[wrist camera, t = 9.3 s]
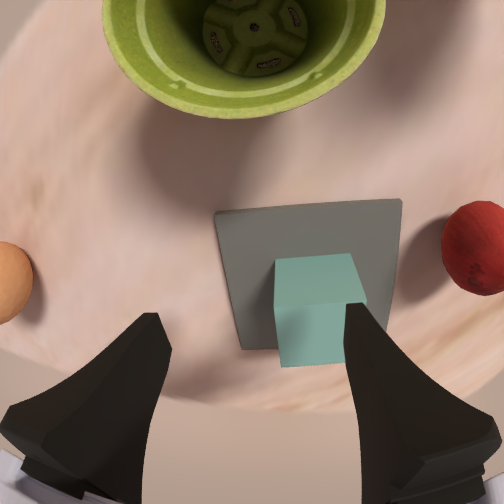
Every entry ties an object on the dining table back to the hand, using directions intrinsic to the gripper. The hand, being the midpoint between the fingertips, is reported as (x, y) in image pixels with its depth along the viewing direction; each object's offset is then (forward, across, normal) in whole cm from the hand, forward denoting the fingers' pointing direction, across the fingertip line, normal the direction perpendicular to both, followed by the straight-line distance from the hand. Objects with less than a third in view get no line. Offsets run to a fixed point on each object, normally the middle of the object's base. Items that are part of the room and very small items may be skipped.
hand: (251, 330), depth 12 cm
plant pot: (+10, -1, -12) cm, 16 cm away
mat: (+10, -3, +5) cm, 11 cm away
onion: (+10, -14, +1) cm, 17 cm away
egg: (+10, +23, +1) cm, 25 cm away
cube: (+9, -3, +5) cm, 11 cm away
